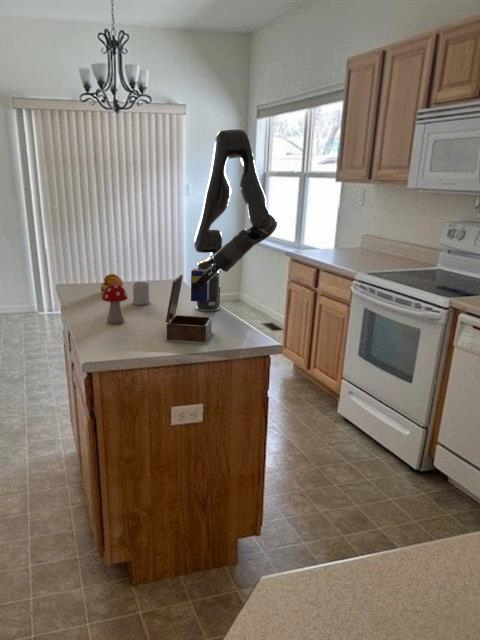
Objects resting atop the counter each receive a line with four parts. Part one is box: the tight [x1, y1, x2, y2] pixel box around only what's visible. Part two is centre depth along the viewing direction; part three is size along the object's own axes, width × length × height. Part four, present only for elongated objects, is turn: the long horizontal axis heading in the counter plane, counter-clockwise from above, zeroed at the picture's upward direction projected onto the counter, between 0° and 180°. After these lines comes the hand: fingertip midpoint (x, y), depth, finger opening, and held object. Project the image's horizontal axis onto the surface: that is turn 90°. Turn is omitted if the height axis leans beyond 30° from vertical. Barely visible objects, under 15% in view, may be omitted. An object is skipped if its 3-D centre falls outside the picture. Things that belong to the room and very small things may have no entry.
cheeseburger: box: [99, 273, 124, 293], centre depth 256 cm, size 10×11×10 cm
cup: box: [132, 281, 150, 306], centre depth 238 cm, size 7×10×9 cm
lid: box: [165, 274, 184, 324], centre depth 187 cm, size 15×13×1 cm
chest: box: [166, 314, 213, 343], centre depth 190 cm, size 14×13×6 cm
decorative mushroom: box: [101, 284, 129, 325], centre depth 206 cm, size 10×9×15 cm
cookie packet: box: [190, 268, 210, 302], centre depth 194 cm, size 6×5×11 cm
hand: (195, 287), depth 195 cm, fingers closed on cookie packet, 4 cm apart
